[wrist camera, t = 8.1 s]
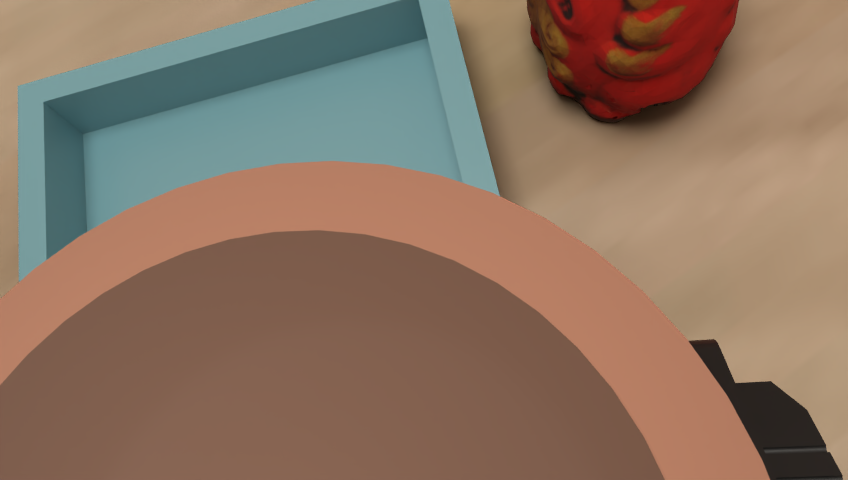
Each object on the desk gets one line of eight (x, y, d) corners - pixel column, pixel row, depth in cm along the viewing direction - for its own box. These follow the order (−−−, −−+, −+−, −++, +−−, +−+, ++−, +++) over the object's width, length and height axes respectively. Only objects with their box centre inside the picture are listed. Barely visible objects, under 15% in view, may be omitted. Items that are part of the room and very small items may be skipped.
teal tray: (86, 481, 27) (19, 474, 24) (73, 130, 32) (17, 85, 29) (544, 373, 26) (540, 350, 22) (453, 24, 31) (439, -36, 28)
